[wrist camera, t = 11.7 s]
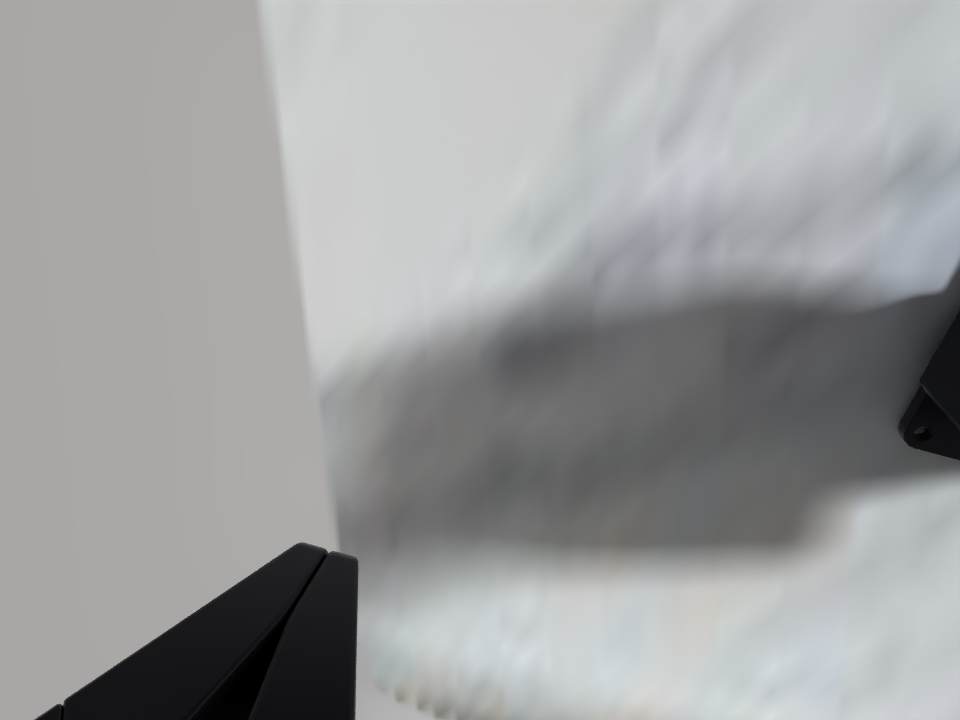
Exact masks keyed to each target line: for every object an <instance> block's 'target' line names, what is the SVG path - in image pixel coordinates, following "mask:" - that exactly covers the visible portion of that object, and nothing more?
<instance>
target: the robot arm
mask: <svg viewBox="0 0 960 720" xmlns="http://www.w3.org/2000/svg"><path fill="white" fill-rule="evenodd" d="M920 382H921V384H922V385H921V387H920V388H919V390H918V392H917V394H916V395H915V397H914V399H913V400H912V402H911V404H910V406H909V407H908V409H907V411H906V412H905V414H904V416H903V418H902V419H901V421H900V423H899V426H898V430H899V434H900V435H901V437H902V438H903V439H904V441H905V442H906V443H907V444H908V445H909V446H911V447H913V448H916V449H919V450H923V451H927V452H931V453H935V454H938V455H942V456H946V457H950V458H954V459H957V460H960V311H959V313H958V315H957V316H956V318H955V320H954V321H953V323H952V325H951V327H950V328H949V330H948V332H947V333H946V335H945V337H944V339H943V340H942V342H941V344H940V346H939V347H938V349H937V351H936V352H935V354H934V356H933V358H932V359H931V361H930V363H929V364H928V366H927V368H926V370H925V371H924V373H923V375H922V376H921V379H920ZM921 426H927V429H926V430H925V431H924V432H922V433H920V434H914V431H915V430H916V429H917V428H918V427H921ZM357 610H358V560H357V558H355V557H353V556H349V555H346V554H342V553H339V552H335V551H332V552H330V553H328V552H327V550H326V549H324V548H321V547H317V546H314V545H310V544H307V543H298V544H296V545H294V546H293V547H291V548H290V549H288V550H287V551H285V552H284V553H282V554H281V555H279V556H278V557H276V558H275V559H273V560H272V561H270V562H269V563H267V564H266V565H264V566H263V567H261V568H260V569H258V570H257V571H255V572H254V573H252V574H251V575H250V576H248V577H247V578H245V579H244V580H242V581H240V582H239V583H237V584H236V585H235V586H233V587H232V588H230V589H229V590H227V591H226V592H224V593H223V594H221V595H220V596H218V597H217V598H215V599H214V600H212V601H211V602H209V603H208V604H206V605H205V606H203V607H202V608H200V609H199V610H197V611H196V612H194V613H193V614H191V615H190V616H188V617H187V618H185V619H184V620H182V621H181V622H180V623H178V624H177V625H175V626H174V627H172V628H171V629H169V630H168V631H166V632H165V633H163V634H162V635H160V636H159V637H157V638H156V639H154V640H153V641H151V642H150V643H148V644H147V645H145V646H144V647H143V648H141V649H139V650H138V651H136V652H135V653H134V654H132V655H130V656H129V657H127V658H126V659H124V660H123V661H121V662H120V663H119V664H117V665H116V666H114V667H113V668H111V669H110V670H108V671H107V672H105V673H104V674H102V675H101V676H99V677H98V678H96V679H95V680H93V681H92V682H91V683H89V684H87V685H86V686H84V687H83V688H81V689H80V690H78V691H77V692H75V693H74V694H72V695H71V696H70V697H68V698H67V699H65V701H64V705H63V706H62V705H61V704H57V705H56V706H54V707H53V708H51V709H50V710H48V711H47V712H46V713H44V714H42V715H41V716H39V717H38V718H36V719H35V720H355V707H356V659H357Z"/></svg>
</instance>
